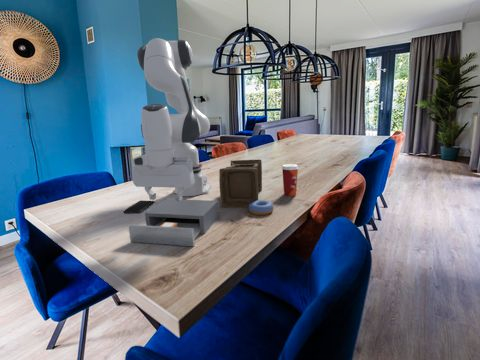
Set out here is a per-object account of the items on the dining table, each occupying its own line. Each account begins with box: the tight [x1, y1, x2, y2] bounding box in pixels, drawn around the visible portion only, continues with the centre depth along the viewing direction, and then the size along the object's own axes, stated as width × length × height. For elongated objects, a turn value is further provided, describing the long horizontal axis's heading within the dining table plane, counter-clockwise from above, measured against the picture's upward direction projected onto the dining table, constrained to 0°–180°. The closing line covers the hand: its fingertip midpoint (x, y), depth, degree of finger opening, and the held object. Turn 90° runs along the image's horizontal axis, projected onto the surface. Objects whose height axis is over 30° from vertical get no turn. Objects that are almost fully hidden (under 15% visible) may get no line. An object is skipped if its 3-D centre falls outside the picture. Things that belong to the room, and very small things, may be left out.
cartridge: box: [161, 221, 178, 227], centre depth 97 cm, size 5×4×4 cm
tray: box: [128, 221, 201, 247], centre depth 100 cm, size 16×22×6 cm
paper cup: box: [281, 163, 299, 197], centre depth 137 cm, size 8×8×14 cm
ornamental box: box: [218, 159, 263, 209], centre depth 138 cm, size 35×18×18 cm, turn 171°
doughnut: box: [248, 199, 274, 216], centre depth 118 cm, size 10×10×5 cm
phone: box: [122, 200, 155, 215], centre depth 130 cm, size 8×1×15 cm
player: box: [144, 198, 220, 235], centre depth 109 cm, size 16×22×6 cm
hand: (166, 199), depth 95 cm, fingers open, 8 cm apart
